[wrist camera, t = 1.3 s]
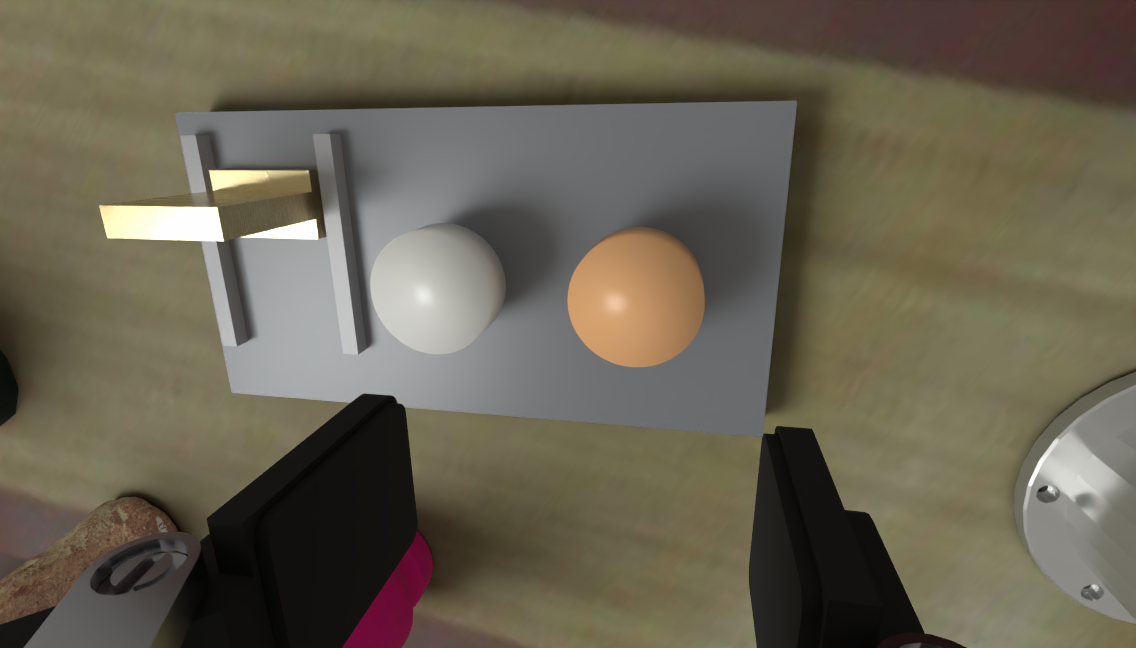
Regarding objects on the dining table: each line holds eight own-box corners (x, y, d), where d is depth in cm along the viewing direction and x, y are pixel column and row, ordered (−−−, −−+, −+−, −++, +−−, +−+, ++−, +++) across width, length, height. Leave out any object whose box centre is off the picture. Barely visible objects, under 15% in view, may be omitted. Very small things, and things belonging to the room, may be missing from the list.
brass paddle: (319, 169, 26) (212, 181, 21) (328, 236, 27) (228, 265, 21) (222, 169, 27) (92, 180, 21) (234, 233, 28) (113, 261, 22)
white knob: (503, 224, 24) (487, 231, 22) (508, 341, 25) (493, 358, 23) (388, 221, 25) (363, 229, 23) (399, 335, 26) (377, 350, 24)
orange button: (707, 228, 22) (709, 237, 20) (699, 352, 24) (700, 371, 22) (576, 225, 23) (566, 234, 21) (577, 345, 25) (568, 363, 23)
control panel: (789, 102, 24) (801, 99, 21) (757, 416, 28) (764, 446, 26) (207, 113, 29) (159, 112, 26) (257, 377, 33) (220, 399, 31)
